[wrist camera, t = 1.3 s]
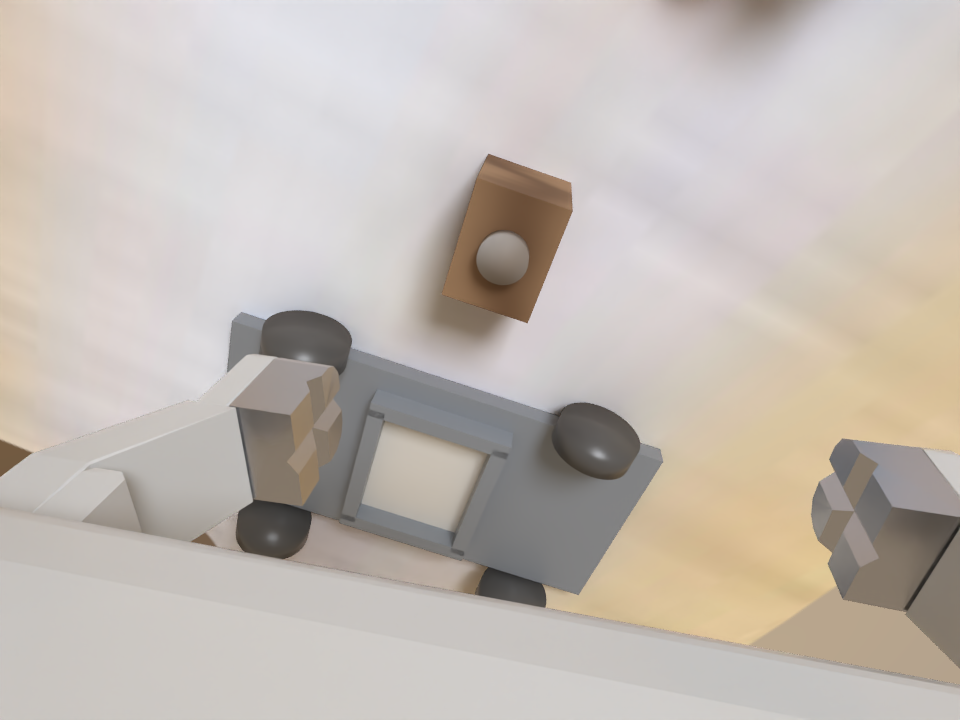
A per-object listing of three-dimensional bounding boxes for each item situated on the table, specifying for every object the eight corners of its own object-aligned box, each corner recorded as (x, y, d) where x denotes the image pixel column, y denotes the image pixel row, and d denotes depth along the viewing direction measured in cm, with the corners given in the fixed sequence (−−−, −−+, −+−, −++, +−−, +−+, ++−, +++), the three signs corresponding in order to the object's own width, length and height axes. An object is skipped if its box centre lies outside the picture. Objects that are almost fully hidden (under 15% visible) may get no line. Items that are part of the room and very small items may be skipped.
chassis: (222, 487, 45) (187, 537, 41) (243, 288, 36) (201, 326, 32) (569, 595, 47) (570, 654, 43) (672, 430, 38) (686, 484, 34)
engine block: (456, 257, 34) (438, 301, 29) (488, 153, 31) (474, 182, 26) (531, 283, 34) (526, 330, 29) (570, 182, 31) (572, 216, 26)
